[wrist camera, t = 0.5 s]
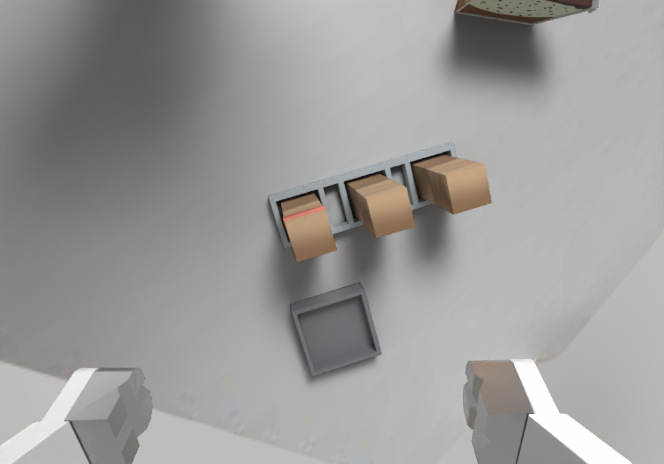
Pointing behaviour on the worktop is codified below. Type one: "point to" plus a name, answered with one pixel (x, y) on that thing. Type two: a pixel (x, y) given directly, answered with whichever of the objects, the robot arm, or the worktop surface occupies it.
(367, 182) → the plain cartridge
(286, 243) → the holder
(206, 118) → the worktop surface
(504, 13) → the food container
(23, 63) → the worktop surface
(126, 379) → the robot arm
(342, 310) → the tray
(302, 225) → the block
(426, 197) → the plain cartridge
